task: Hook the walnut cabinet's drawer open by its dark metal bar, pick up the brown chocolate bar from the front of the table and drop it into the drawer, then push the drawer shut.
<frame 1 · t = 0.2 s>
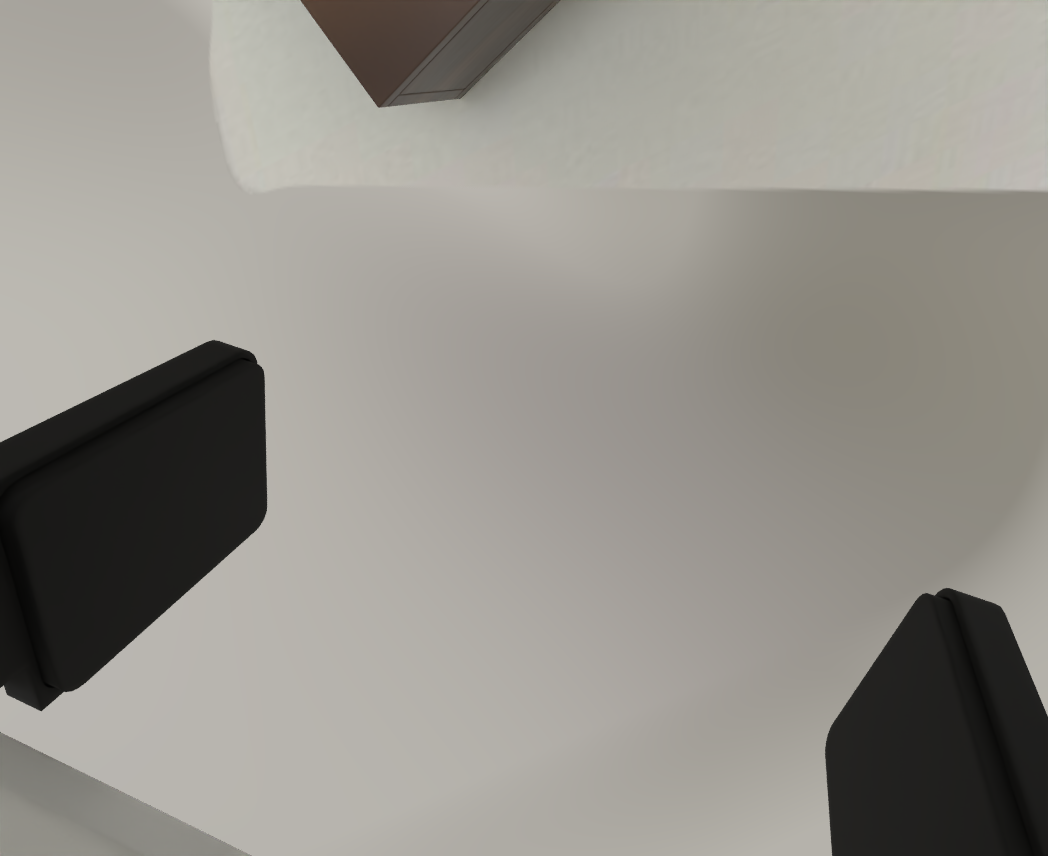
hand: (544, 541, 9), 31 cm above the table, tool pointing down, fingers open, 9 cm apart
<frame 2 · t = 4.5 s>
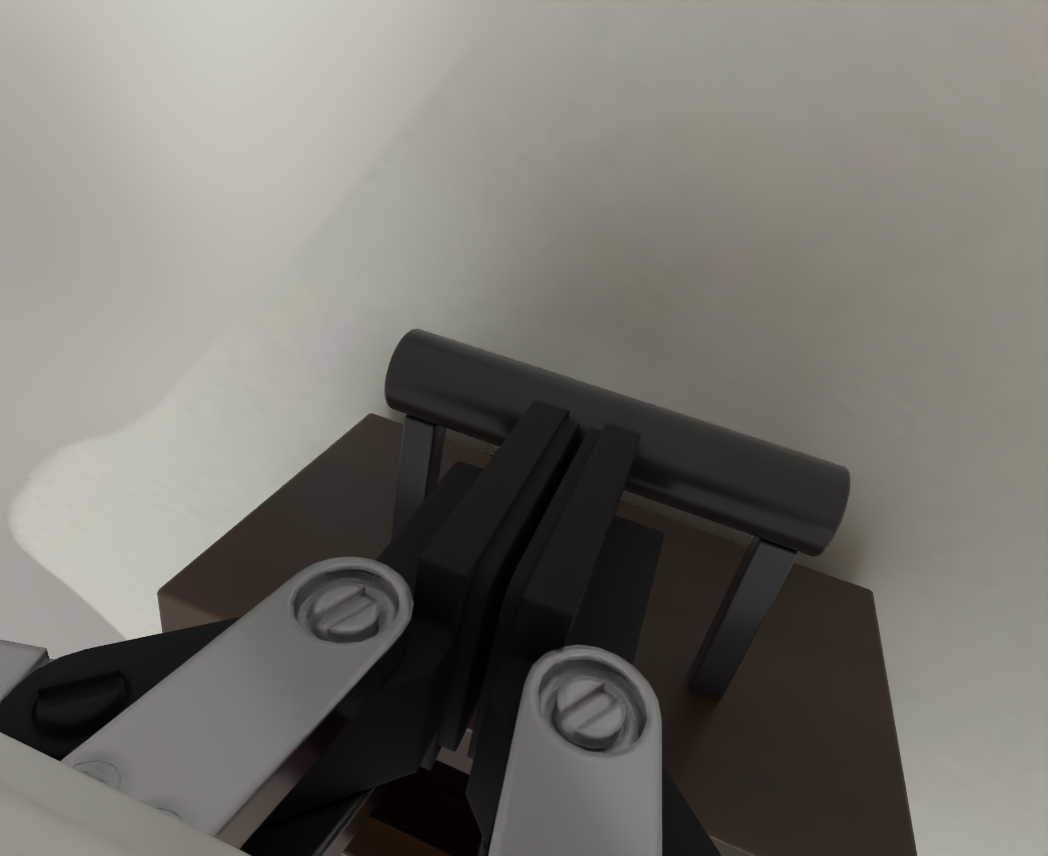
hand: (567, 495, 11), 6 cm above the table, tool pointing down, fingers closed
cabinet: (532, 729, 23), on the table
drawer: (523, 721, 16), point 5 cm above the table, slide at 2.2 cm, touching gripper
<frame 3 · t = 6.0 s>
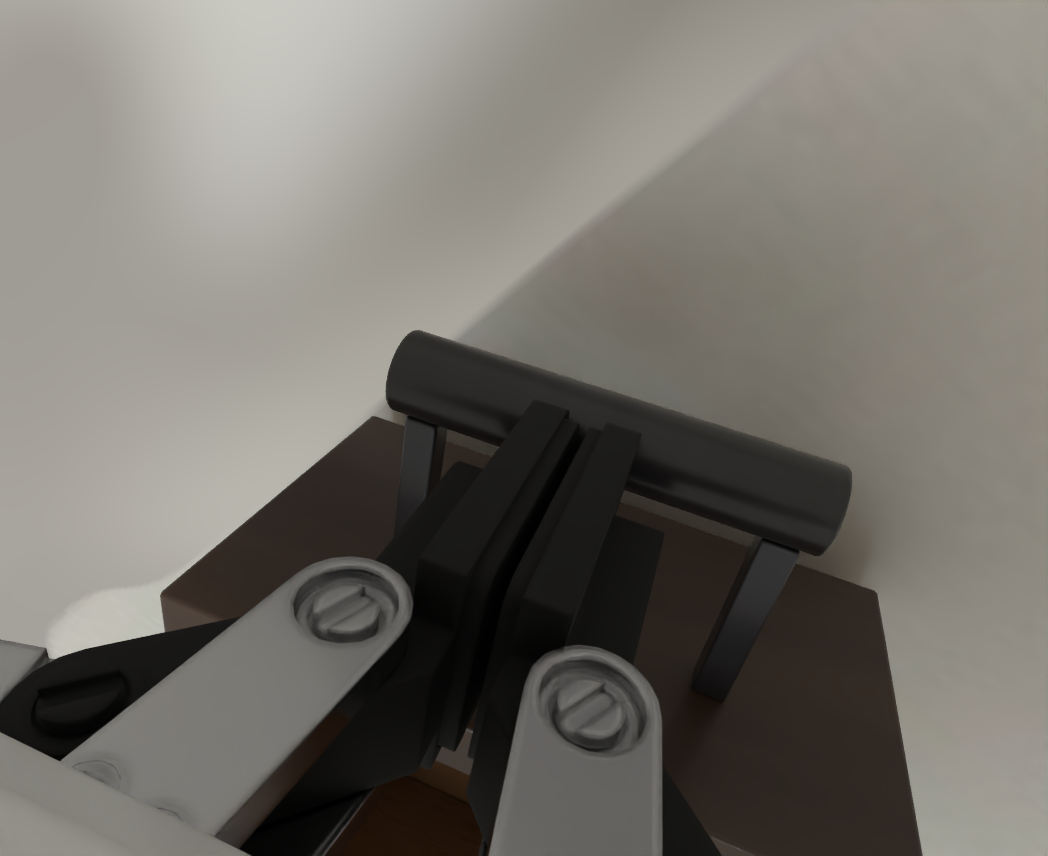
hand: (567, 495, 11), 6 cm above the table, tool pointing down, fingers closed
drawer: (527, 724, 16), point 5 cm above the table, slide at 9.2 cm, touching gripper
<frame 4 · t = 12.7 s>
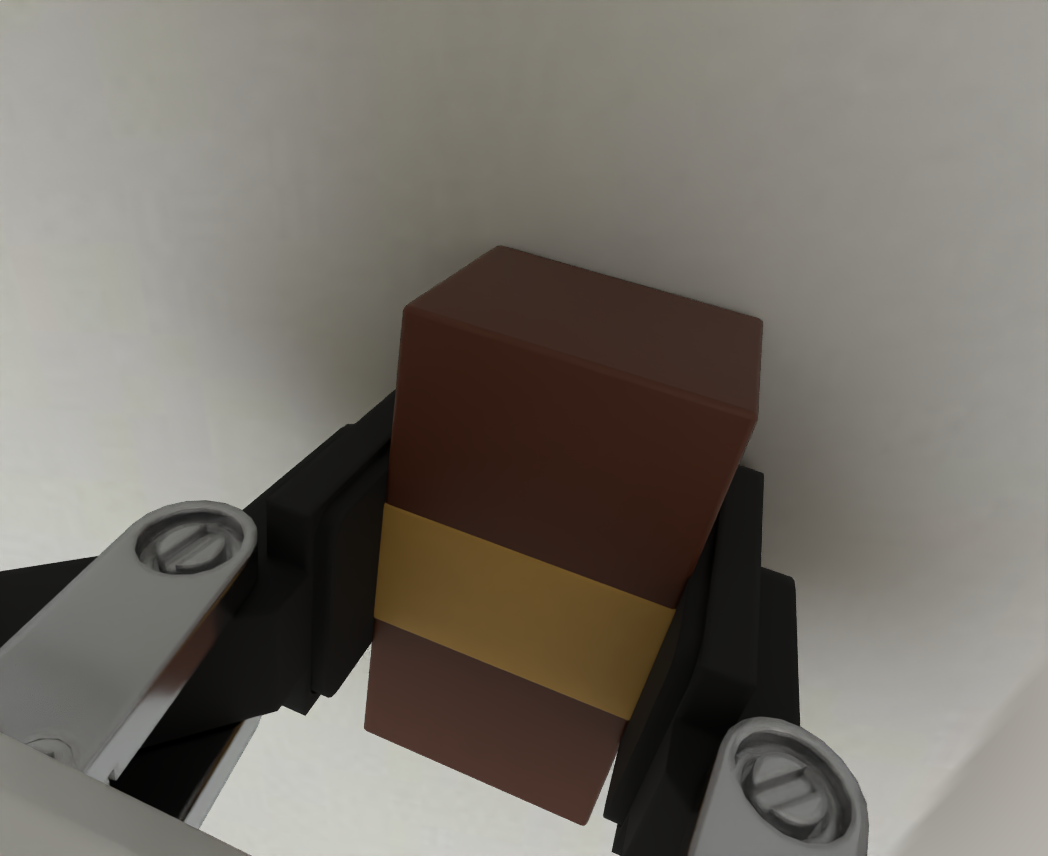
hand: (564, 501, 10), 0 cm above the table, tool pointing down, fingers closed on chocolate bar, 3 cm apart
chocolate bar: (568, 492, 11), on the table, touching gripper
when the fingers open (6 cm above the table, at t = 20.6 s): chocolate bar drops 4 cm, resting on drawer.
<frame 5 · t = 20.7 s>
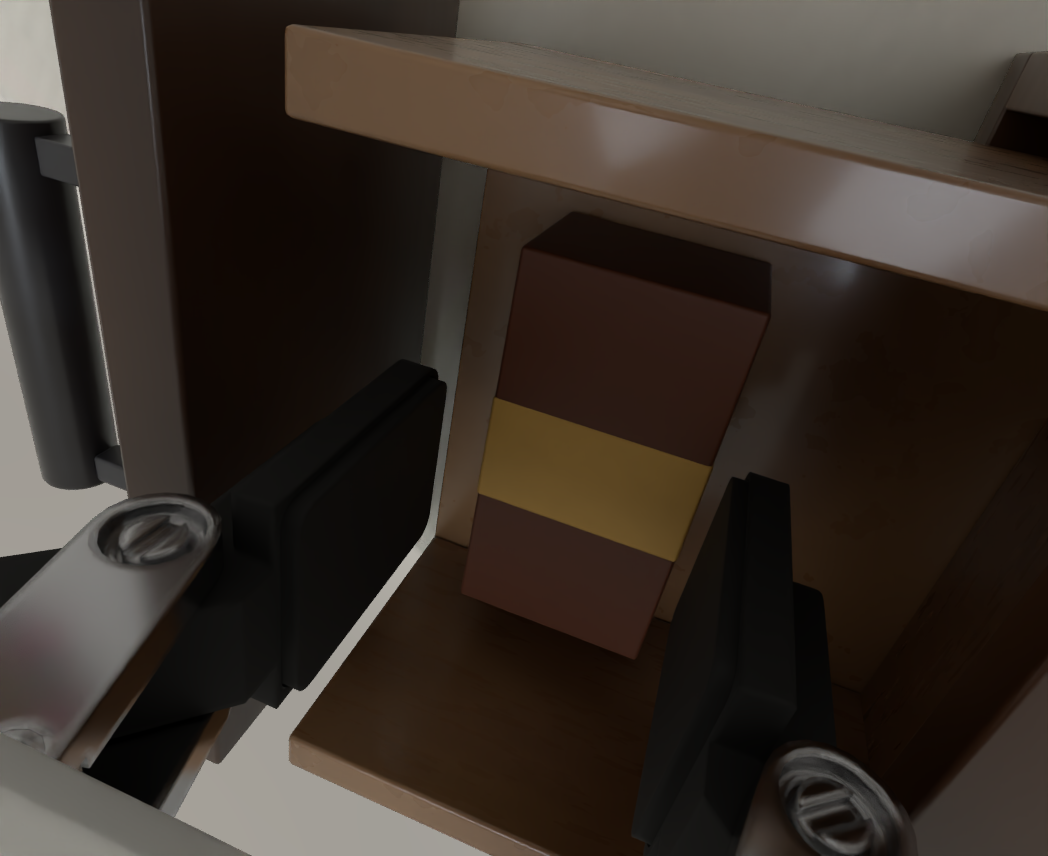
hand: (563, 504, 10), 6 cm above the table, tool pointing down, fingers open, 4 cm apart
drawer: (497, 437, 12), point 5 cm above the table, slide at 9.1 cm, touching chocolate bar
chocolate bar: (619, 408, 14), point 2 cm above the table, touching drawer
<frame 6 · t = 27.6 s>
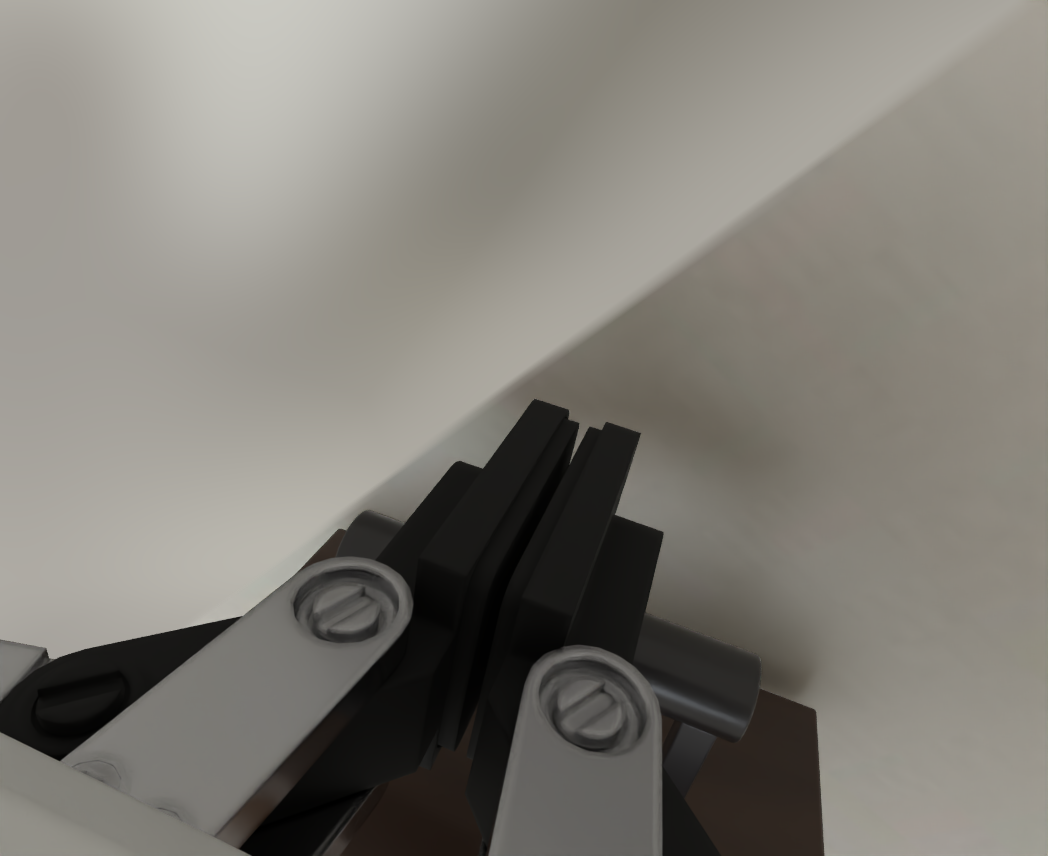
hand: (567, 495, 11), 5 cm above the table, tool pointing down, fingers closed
drawer: (485, 836, 16), point 5 cm above the table, slide at 9.2 cm, touching chocolate bar, gripper
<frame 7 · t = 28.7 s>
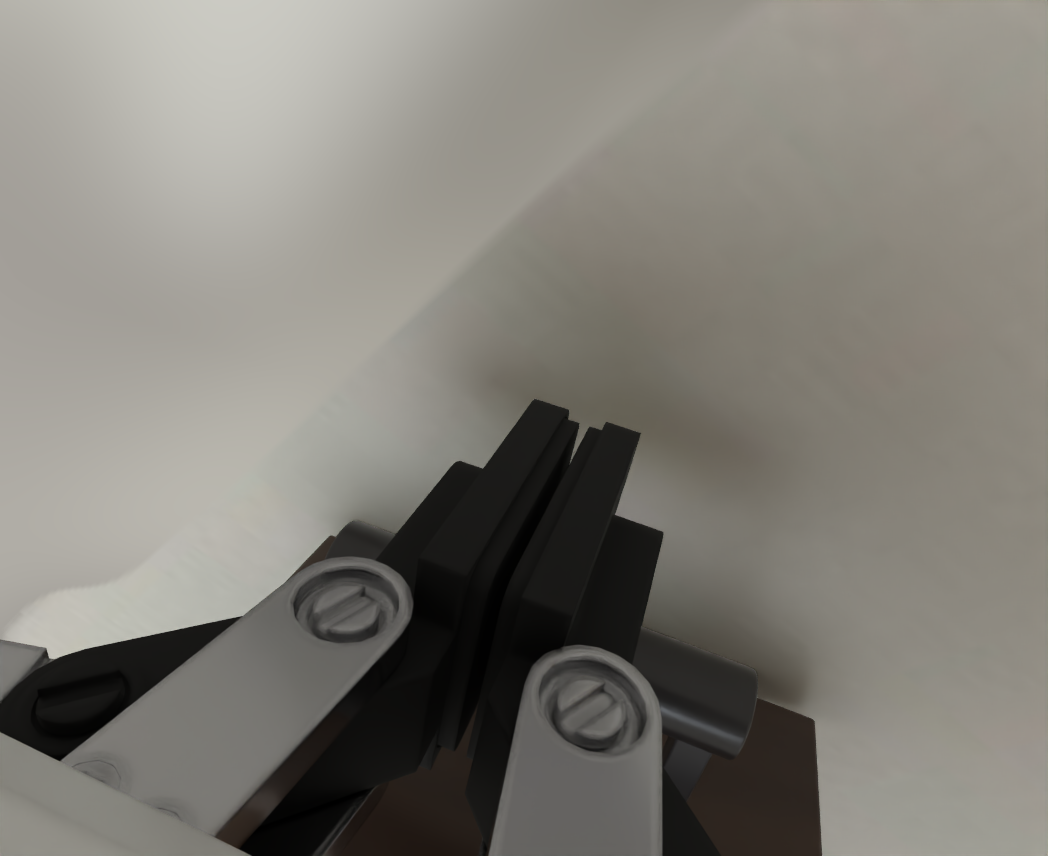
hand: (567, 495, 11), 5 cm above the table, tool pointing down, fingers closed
drawer: (478, 848, 16), point 5 cm above the table, slide at 4.8 cm, touching chocolate bar, gripper
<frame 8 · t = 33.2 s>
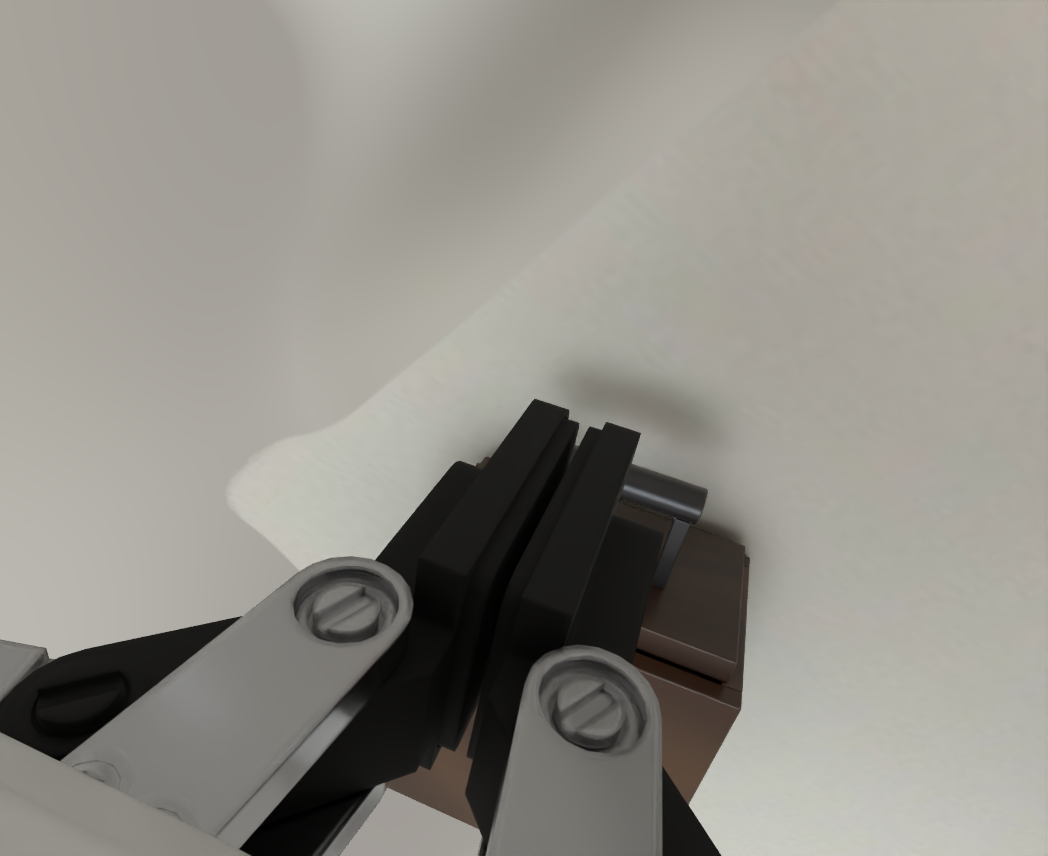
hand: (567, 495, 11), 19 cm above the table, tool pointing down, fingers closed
cabinet: (576, 611, 37), on the table
drawer: (571, 614, 31), point 5 cm above the table, slide at 0.0 cm, touching cabinet, chocolate bar
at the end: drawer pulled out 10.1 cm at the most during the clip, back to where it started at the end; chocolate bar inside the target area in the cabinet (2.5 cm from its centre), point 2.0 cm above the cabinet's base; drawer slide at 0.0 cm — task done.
